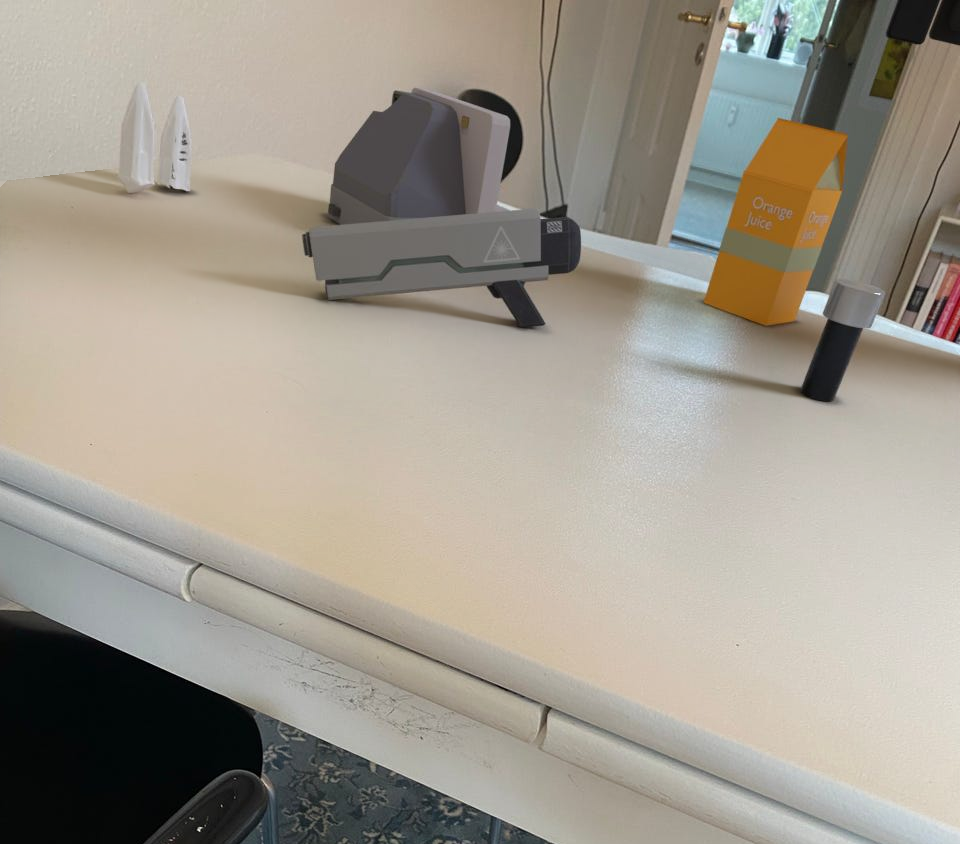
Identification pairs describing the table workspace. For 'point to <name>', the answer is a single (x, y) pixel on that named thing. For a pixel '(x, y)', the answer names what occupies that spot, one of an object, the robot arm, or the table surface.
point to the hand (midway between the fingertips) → (924, 41)
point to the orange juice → (779, 223)
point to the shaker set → (141, 145)
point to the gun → (446, 256)
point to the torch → (840, 335)
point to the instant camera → (421, 161)
